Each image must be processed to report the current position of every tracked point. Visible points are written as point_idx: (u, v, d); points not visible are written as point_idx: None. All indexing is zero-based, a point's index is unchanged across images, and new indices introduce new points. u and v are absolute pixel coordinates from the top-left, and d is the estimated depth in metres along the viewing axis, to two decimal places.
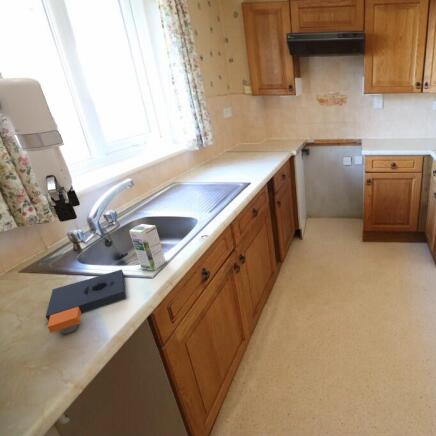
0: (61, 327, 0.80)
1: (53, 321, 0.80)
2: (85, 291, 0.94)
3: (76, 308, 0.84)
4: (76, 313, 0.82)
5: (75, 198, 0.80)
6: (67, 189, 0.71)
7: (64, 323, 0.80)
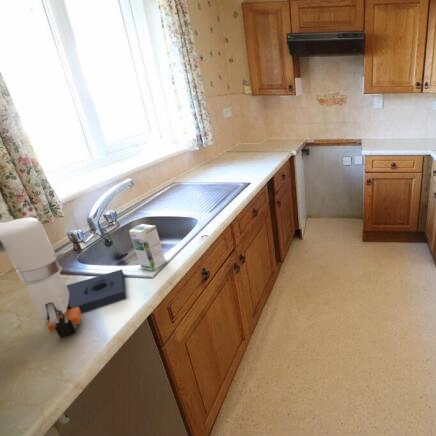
0: None
1: None
2: (85, 291, 0.94)
3: (76, 308, 0.84)
4: (76, 313, 0.82)
5: None
6: (64, 311, 0.77)
7: None
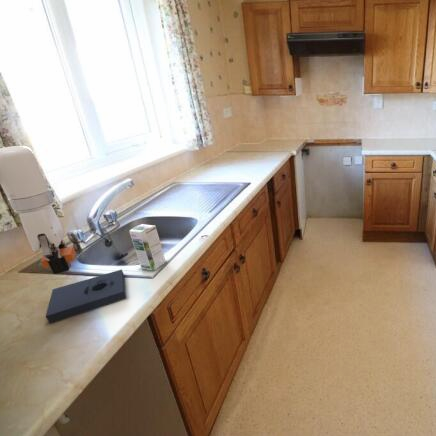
0: None
1: None
2: (85, 291, 0.94)
3: (70, 247, 0.83)
4: (70, 251, 0.82)
5: None
6: (57, 245, 0.77)
7: None
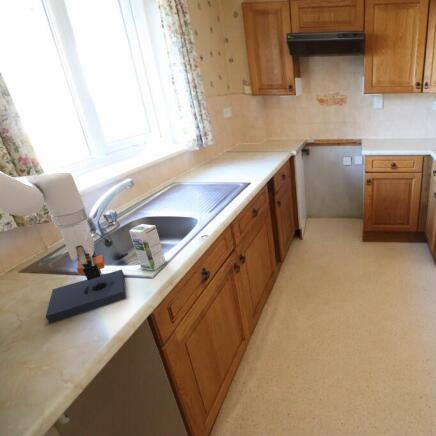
0: None
1: None
2: (85, 291, 0.94)
3: (100, 256, 0.95)
4: (101, 259, 0.93)
5: None
6: (91, 254, 0.88)
7: None
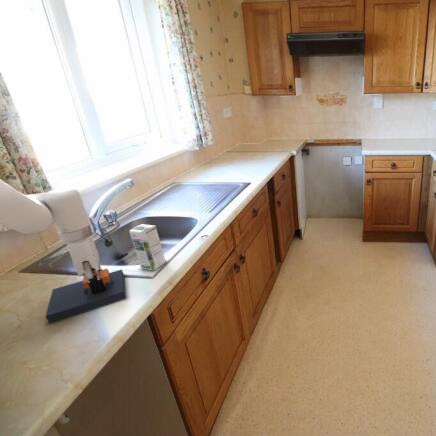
0: None
1: None
2: (85, 291, 0.94)
3: (105, 269, 0.97)
4: (106, 273, 0.95)
5: None
6: (97, 269, 0.90)
7: None
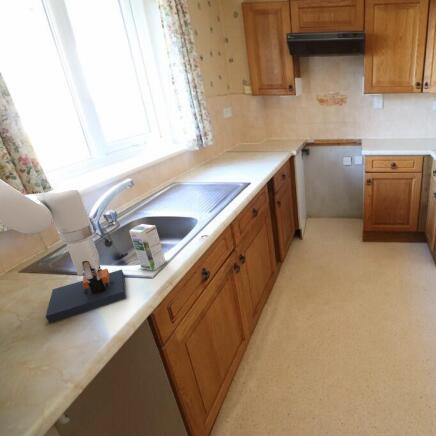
0: None
1: None
2: (85, 291, 0.94)
3: (105, 269, 0.97)
4: (106, 273, 0.95)
5: None
6: (97, 269, 0.90)
7: None
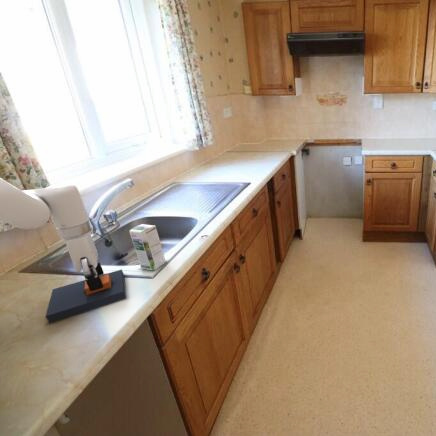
0: (95, 290, 0.93)
1: None
2: None
3: (107, 275, 0.97)
4: (107, 279, 0.96)
5: (100, 269, 0.98)
6: (95, 266, 0.89)
7: None
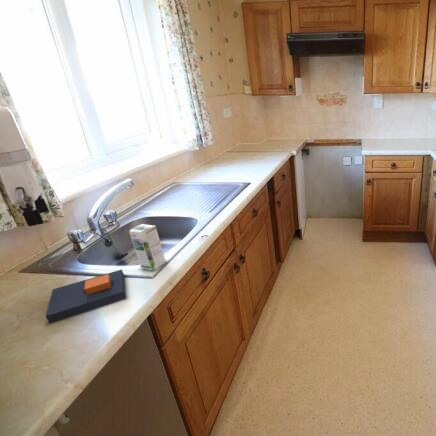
0: (95, 290, 0.93)
1: (89, 285, 0.93)
2: None
3: (107, 275, 0.97)
4: (107, 279, 0.96)
5: (44, 205, 0.92)
6: (34, 198, 0.84)
7: (97, 287, 0.93)
